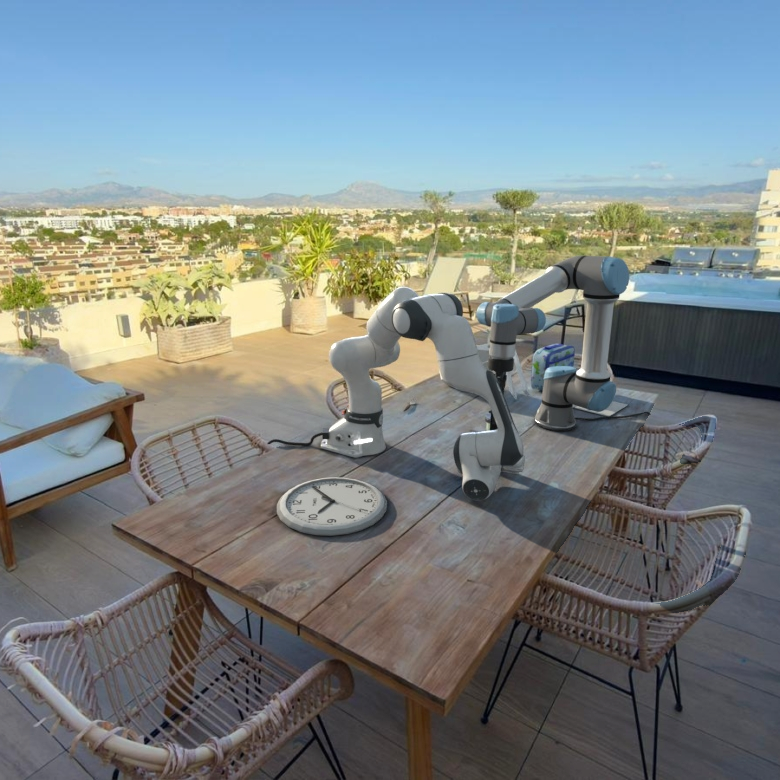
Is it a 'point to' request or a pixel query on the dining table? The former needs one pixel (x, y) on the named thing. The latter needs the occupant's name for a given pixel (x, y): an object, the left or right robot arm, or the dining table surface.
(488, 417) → the lid
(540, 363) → the lunch box
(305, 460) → the dining table surface
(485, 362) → the white plastic object
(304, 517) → the wall clock
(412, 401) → the fork
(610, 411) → the invitation card
